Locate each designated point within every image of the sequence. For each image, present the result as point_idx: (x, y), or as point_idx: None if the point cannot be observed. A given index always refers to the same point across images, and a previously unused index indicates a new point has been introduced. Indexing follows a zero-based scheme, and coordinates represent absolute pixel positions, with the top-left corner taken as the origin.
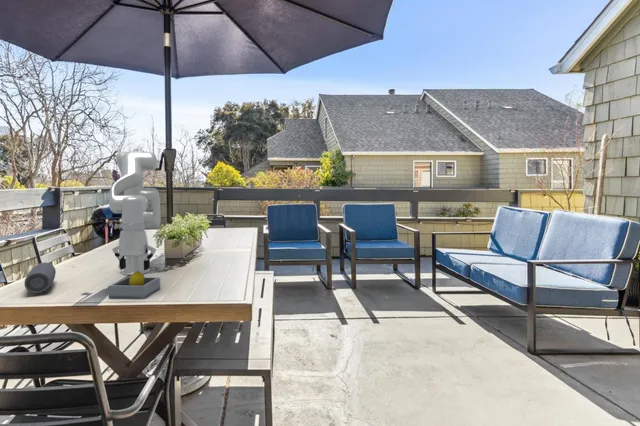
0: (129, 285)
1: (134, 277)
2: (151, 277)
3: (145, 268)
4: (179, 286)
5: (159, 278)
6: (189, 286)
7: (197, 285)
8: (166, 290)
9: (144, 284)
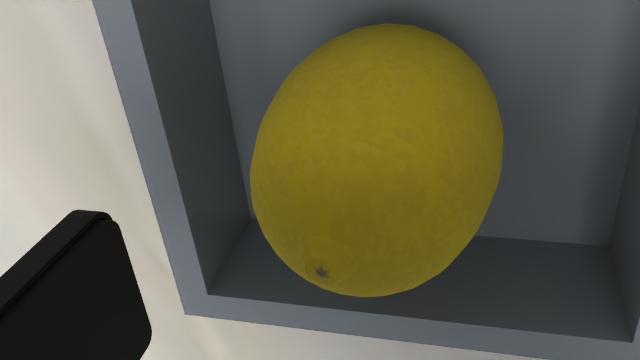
0: (599, 259)
1: (342, 98)
2: (286, 321)
3: (56, 230)
4: None
5: (187, 297)
6: None
7: None
8: None
9: None
